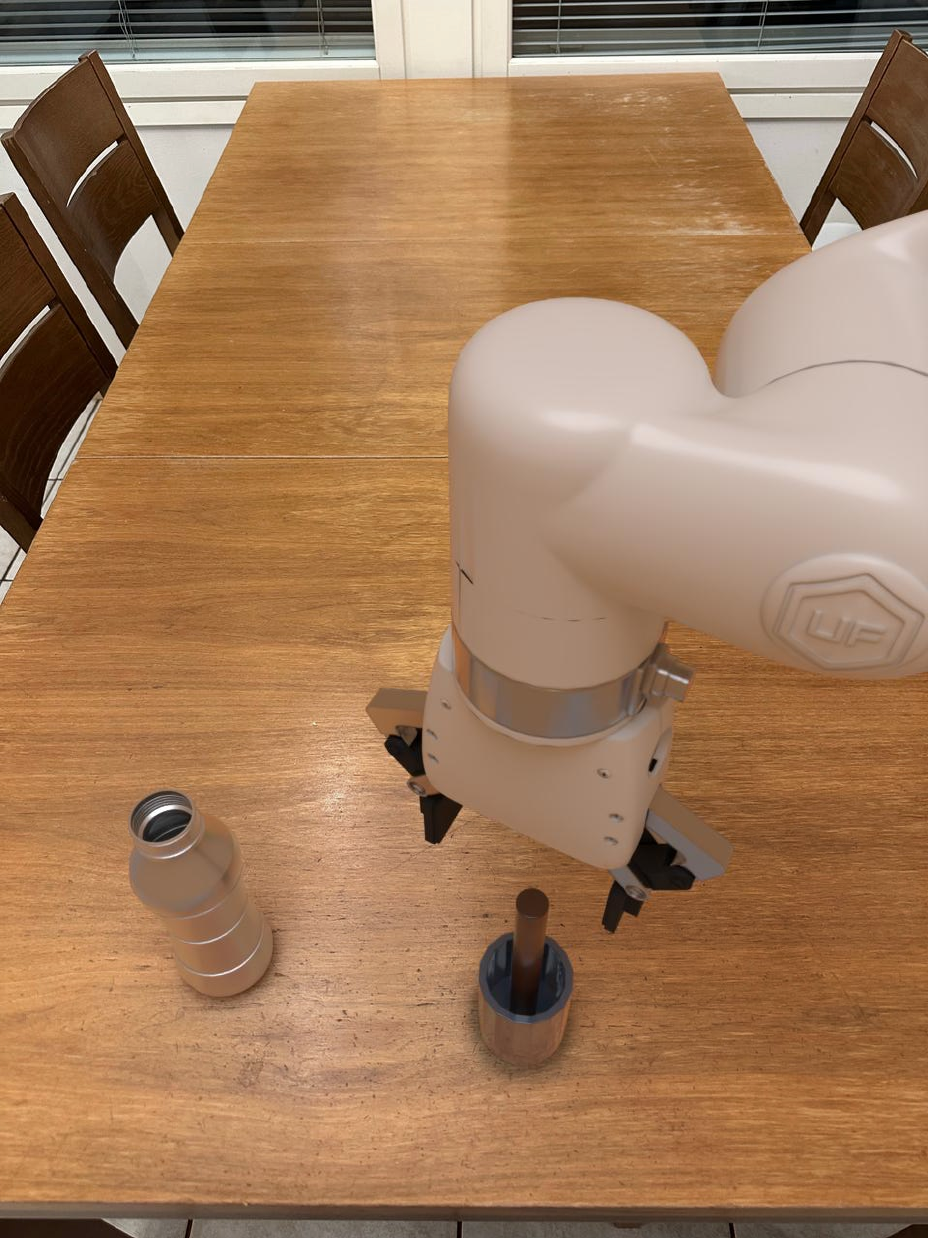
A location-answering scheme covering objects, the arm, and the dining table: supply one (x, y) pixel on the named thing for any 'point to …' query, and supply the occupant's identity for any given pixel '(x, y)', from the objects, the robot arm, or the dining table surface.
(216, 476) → the dining table surface
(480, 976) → the utensil pot
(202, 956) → the plastic bottle
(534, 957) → the stirring stick
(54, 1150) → the dining table surface
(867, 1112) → the dining table surface
